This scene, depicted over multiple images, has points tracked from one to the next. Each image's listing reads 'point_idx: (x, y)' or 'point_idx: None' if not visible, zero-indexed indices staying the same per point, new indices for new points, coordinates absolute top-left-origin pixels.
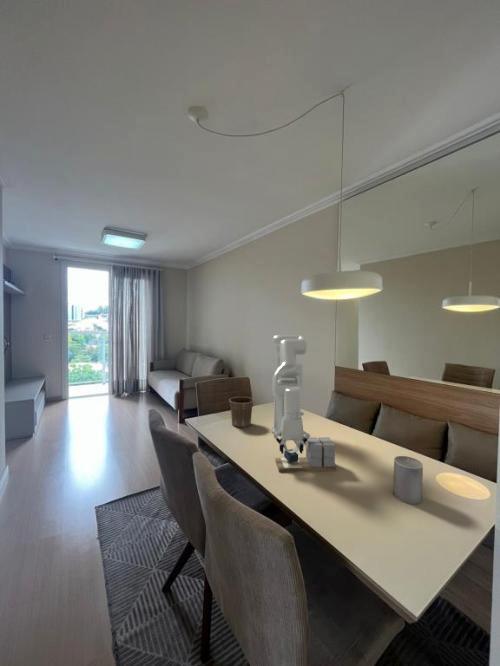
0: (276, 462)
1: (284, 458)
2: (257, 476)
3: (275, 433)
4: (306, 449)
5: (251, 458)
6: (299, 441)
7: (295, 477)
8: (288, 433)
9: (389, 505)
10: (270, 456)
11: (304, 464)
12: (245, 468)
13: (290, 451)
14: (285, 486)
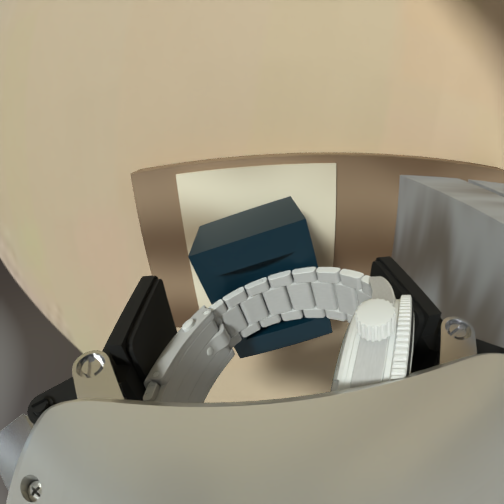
0: (144, 230)
1: (210, 183)
2: (79, 341)
3: (5, 476)
4: (449, 212)
5: (9, 159)
6: None
7: (264, 354)
8: None
9: None
10: (108, 94)
11: (359, 268)
12: (15, 275)
13: (263, 293)
14: (207, 401)
